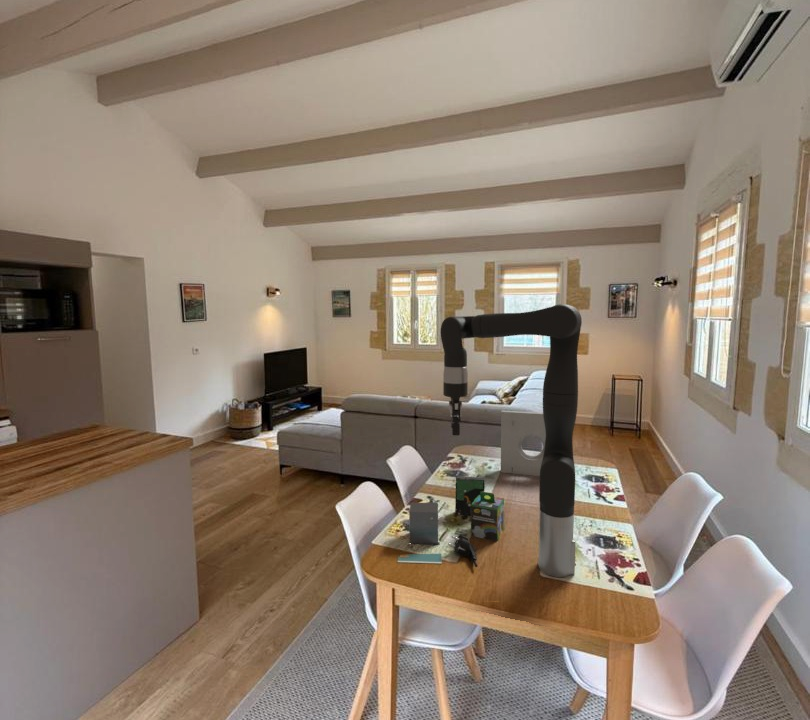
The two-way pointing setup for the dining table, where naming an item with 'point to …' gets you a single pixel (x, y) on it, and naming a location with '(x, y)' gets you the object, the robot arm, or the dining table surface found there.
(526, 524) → the dining table surface
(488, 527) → the chalk box
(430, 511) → the unit
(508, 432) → the mounting panel
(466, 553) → the power plug
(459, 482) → the disk drive
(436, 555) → the mat
